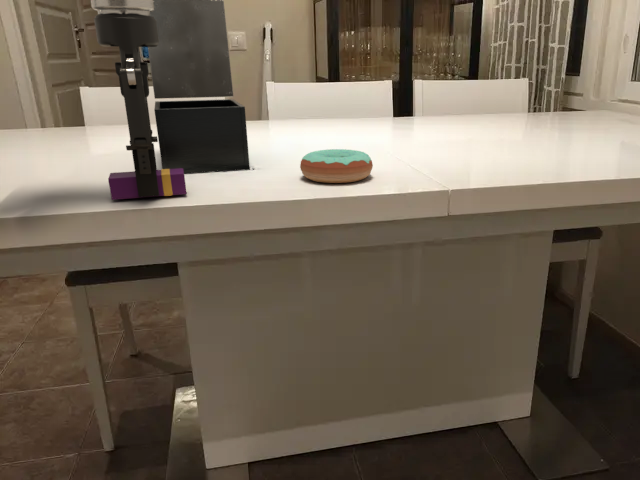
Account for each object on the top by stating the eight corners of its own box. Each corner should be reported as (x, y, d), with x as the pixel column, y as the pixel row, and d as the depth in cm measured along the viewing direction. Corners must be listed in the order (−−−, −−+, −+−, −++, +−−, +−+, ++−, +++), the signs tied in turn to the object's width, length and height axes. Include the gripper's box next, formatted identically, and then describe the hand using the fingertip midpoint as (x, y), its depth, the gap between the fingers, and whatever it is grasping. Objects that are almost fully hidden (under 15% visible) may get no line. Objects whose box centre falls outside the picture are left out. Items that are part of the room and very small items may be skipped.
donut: (387, 179, 91) (387, 155, 89) (323, 189, 85) (323, 162, 83) (347, 167, 100) (347, 145, 99) (288, 175, 94) (286, 151, 92)
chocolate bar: (111, 200, 77) (107, 178, 76) (113, 193, 81) (110, 172, 80) (186, 194, 80) (184, 173, 79) (185, 188, 84) (182, 167, 83)
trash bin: (249, 169, 99) (244, 106, 95) (163, 175, 95) (154, 109, 91) (238, 154, 114) (233, 99, 110) (162, 158, 109) (155, 101, 105)
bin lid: (223, -1, 105) (221, 7, 111) (141, -3, 101) (142, 5, 106) (233, 96, 109) (230, 99, 114) (154, 98, 105) (155, 101, 110)
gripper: (155, 10, 65) (178, 204, 74) (156, 17, 80) (175, 178, 89) (85, 8, 63) (117, 208, 72) (99, 16, 78) (124, 181, 87)
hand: (149, 191), depth 80 cm, fingers closed on chocolate bar, 4 cm apart
